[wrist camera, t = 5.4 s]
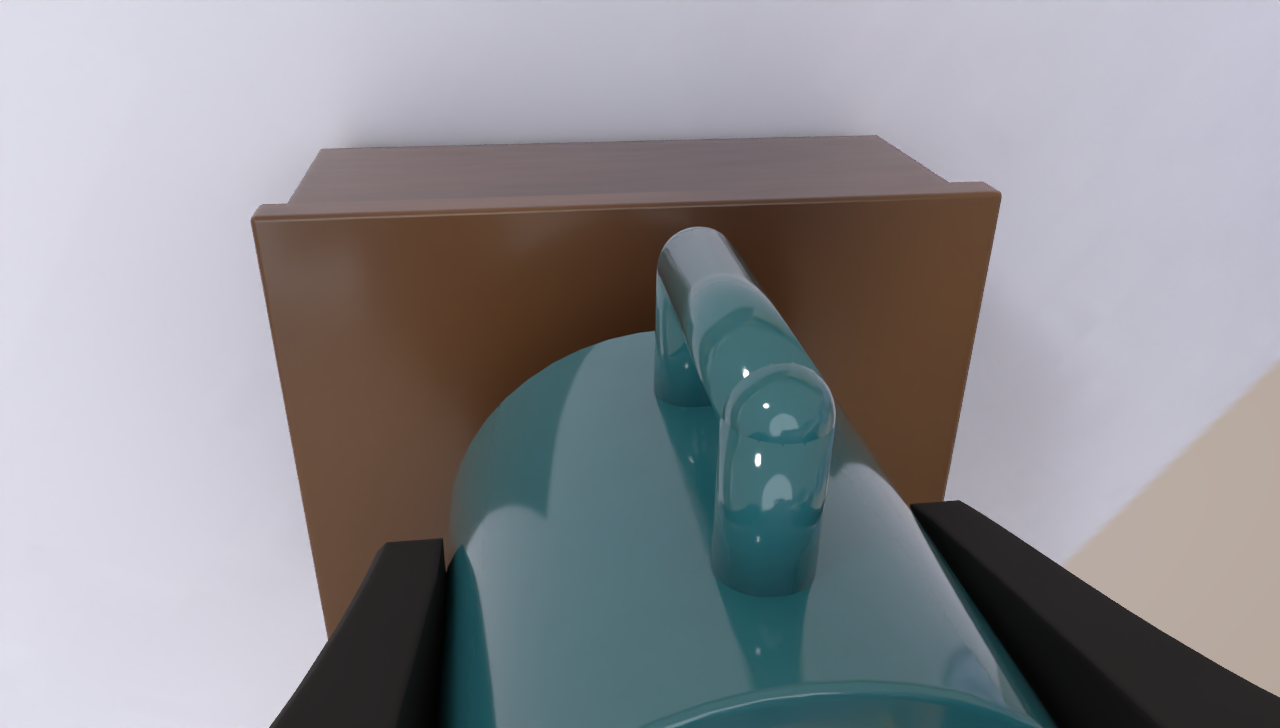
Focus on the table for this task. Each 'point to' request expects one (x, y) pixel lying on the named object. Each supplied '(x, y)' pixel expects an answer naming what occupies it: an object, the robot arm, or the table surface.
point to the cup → (701, 543)
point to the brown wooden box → (592, 300)
